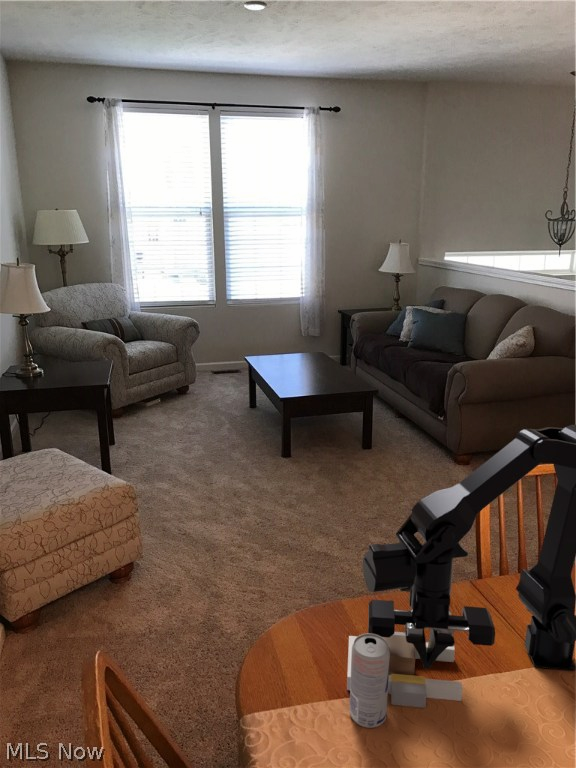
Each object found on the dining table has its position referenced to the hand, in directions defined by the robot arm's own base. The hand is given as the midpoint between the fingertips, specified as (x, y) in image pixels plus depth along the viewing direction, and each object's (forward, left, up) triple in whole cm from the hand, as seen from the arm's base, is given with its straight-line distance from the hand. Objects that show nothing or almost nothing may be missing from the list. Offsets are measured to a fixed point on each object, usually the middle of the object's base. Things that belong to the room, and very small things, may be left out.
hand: (426, 667), depth 93 cm
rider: (+5, 0, -2) cm, 5 cm away
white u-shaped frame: (+3, 0, -2) cm, 3 cm away
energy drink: (+9, +9, -2) cm, 13 cm away
